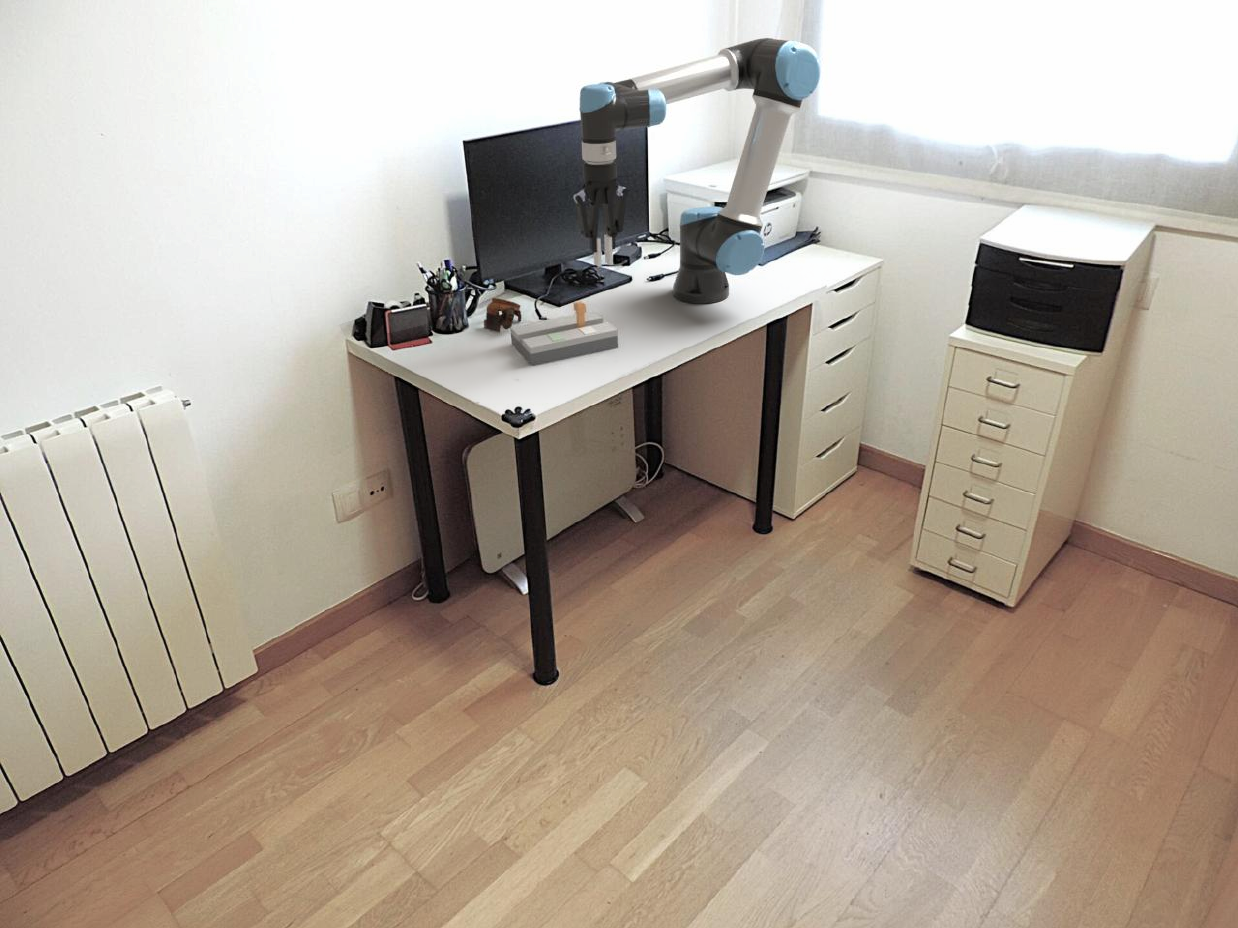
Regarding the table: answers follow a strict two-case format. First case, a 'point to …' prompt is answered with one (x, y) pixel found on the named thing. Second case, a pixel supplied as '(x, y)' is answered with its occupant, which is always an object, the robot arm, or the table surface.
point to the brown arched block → (507, 316)
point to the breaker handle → (580, 313)
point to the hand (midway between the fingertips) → (603, 264)
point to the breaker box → (563, 338)
